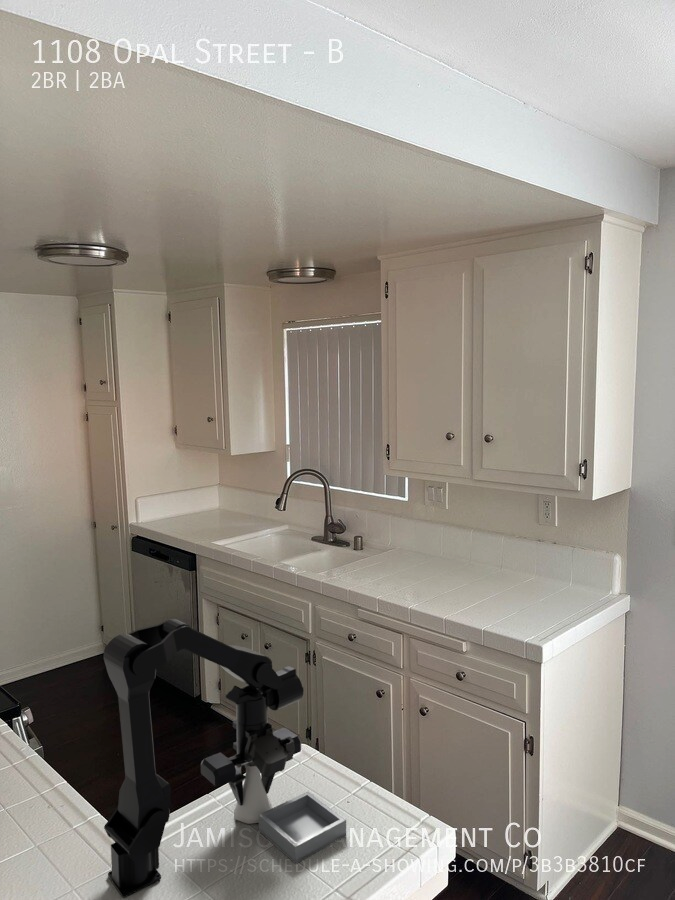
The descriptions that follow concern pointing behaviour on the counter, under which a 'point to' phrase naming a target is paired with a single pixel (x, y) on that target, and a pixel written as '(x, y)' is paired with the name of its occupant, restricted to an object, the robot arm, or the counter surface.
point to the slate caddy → (302, 826)
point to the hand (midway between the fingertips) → (253, 798)
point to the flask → (252, 797)
